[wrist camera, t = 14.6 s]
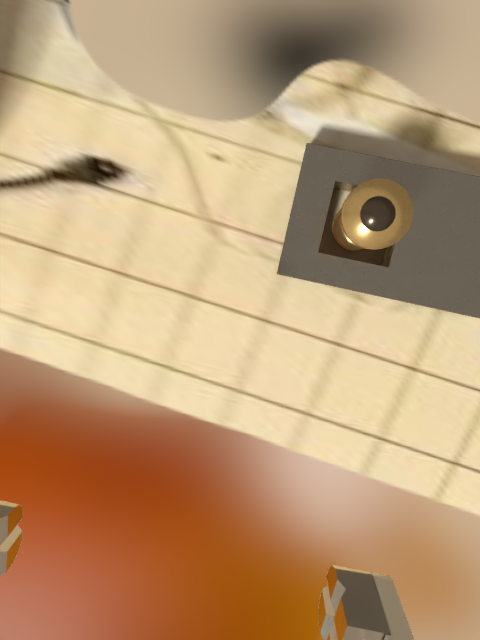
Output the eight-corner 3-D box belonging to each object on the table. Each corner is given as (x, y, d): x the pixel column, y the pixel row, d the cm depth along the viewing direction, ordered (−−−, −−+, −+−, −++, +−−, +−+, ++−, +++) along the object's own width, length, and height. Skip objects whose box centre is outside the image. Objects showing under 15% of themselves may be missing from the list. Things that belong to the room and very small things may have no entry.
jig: (276, 273, 37) (277, 273, 34) (304, 152, 35) (306, 142, 33) (473, 317, 36) (488, 320, 33) (510, 193, 34) (528, 186, 32)
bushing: (322, 248, 36) (335, 241, 28) (334, 195, 35) (352, 172, 28) (374, 259, 36) (403, 255, 28) (388, 206, 35) (421, 185, 27)
